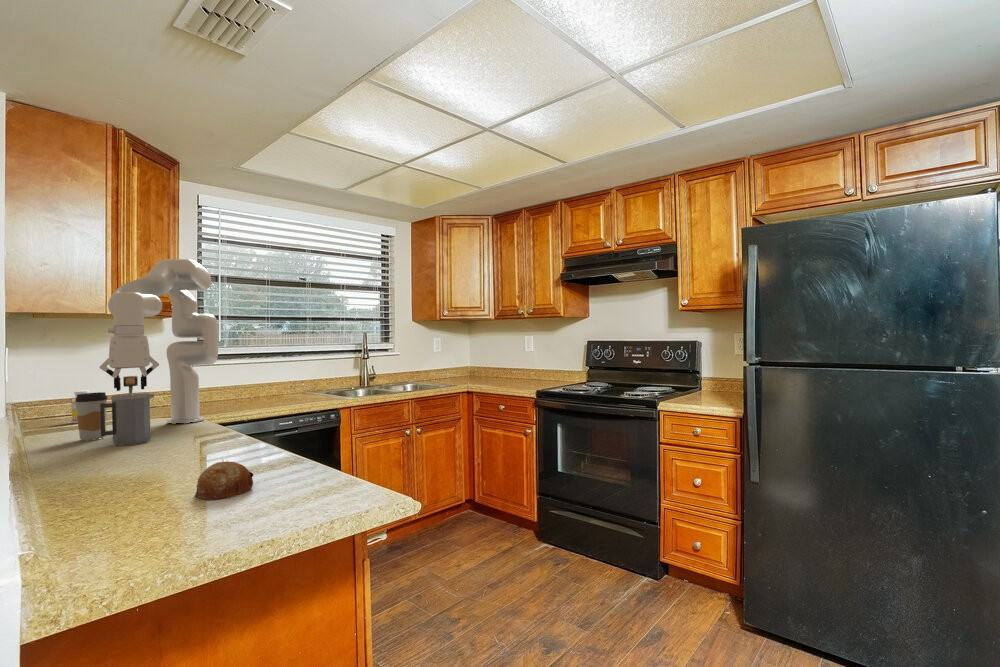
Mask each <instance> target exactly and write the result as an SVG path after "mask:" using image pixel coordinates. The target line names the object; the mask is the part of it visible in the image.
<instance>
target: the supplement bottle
mask: <svg viewBox="0 0 1000 667" xmlns="http://www.w3.org/2000/svg"><path fill="white" fill-rule="evenodd" d="M84 393H90V390H89V389H88V390H78V391H77V390H76V391H74V393H73V394H74V397H73V398H72V399H71V419H72V420H71V422H72V423H73V424H78V420H77V407H76V402H75V400H76V399H75V398H77V394H84Z"/></svg>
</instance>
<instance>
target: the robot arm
mask: <svg viewBox="0 0 1000 667" xmlns="http://www.w3.org/2000/svg"><path fill="white" fill-rule="evenodd" d="M211 285H212V276H211V274H210V272H209V271H208V270H207V268H205V267H204V266H203V265H202V264H200V263H198V262H197V261H196V260H193V259H190V258H185V259H182V258H178V259H177V258H166V259H165V258H164V259H161V260H159V261H157V262H156V263H155V264H154V265H153V267H151V269H150V270H149V271H148V273H147V274H146V275H144V276H142V277H139V278H137V279H134V280H131V281H128V282H126V283H124V284H121V286H119V287H118V288H116V290H115V291H114V292H113V293H112V294H111V296H110V297H109V299H108V303H107V308H108V311H109V313H110V314H111V315H112V316H113V323H114V324H113V325H114V326H113V327H109V328H108V329H107V332H108V333H112V334H113V335H114V336H111V337H110V339H109V340H110V341H109V350H108V358H107V359H106V360H105V361H104V362H102V363H101V365H100V366H99V369H100V370H102V371H103V372H105V373H106V374H108V375H109V376H111V377H112V379H113V389H116V392H119V391H121V388H122V387H121V385H122V384H121V377H120V373H121V370H122V369H135V368H136V369H137V368H139V370H140V372H141V376H140V389H141V390H144V389H145V387H148V386H147V385H148V382H147V381H148V378H147V376H148V375H150V374H151V373H152V372H153V371H154V370H155V369H156V368H158V367H159V366H160V363H159V362H158V361H156V360H155V359H154V358H153V357H152V356H151V355H150V354H151V353H150V346H149V340H148V335H145V319H144V318H145V317H146V318H149V317H151V318H152V317H155V316H157V315H159V314H160V313H161V312H162V310H163V302H162V301H161V300H162V299H160V297H162V296H165V295H168V296H169V298H170V300H171V331H172V335H173V336H174V337H175V338H176V337H177V338H180V339H181V338H182V339H191V338H192V339H197V338H200V339H201V338H202V339H203V340H184V341H183V340H181V341H175V342H172V343H169V345H168V346H167V348H166V351H165V352H166V359H167V362H168V368H169V378H170V379H169V381H170V384H169V386H170V387H169V388H170V415H171V416H170V417H171V418H169V419H167V420H166V424H167V423H172V424H171V425H177V424H176V423H184V424H191V423H190V422H193V423H198V422H202V421H204V420H205V417H204V416H202V415H201V413H200V412H201V410H200V384H199V383H200V382H199V380H200V378H199V374H198V373H197V371H196V370H195V369H194V368H193V366H201V365H202V366H206V365H213V364H215V363H216V362H217V361H218V358H219V324H218V320H217V317H216V316H215V315H213V314H210V313H198V301H197V299H196V298H195V297H194V296H193V295H192V293H190V291H206V290H207V289H209V288H210V287H211ZM150 364H152V365H151V366H150ZM108 366H109V367H108ZM148 366H150V367H148ZM146 367H148V368H147V369H146ZM110 368H111V369H110ZM112 369H114V370H112Z"/></svg>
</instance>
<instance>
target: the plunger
mask: <svg viewBox="0 0 1000 667" xmlns="http://www.w3.org/2000/svg"><path fill="white" fill-rule="evenodd" d="M122 378H123V387H125V388H126V387H127V388H128V393H129V394H133V393H134V389H133V388H134V387H138V385H139V384H138V382H139V381H138V378H139V376H138V375H129V376H126V375H125V376H123V377H122Z"/></svg>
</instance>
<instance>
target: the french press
mask: <svg viewBox="0 0 1000 667" xmlns="http://www.w3.org/2000/svg"><path fill="white" fill-rule="evenodd" d="M153 398H155V393H150V391H148V392H145V391H144V392H143V391H141V392H140V391H138V392H133V394H129V392H128V393H127V392H126V393H118V394H116V393H115V394H112V395H111V402H107V403H100V415H101V437H104V438H105V437H107V436H112V443H113V444H112V445H113V446H114V445H128V446H134V444H136V445H142V444H146V443H145V442H147V443H149V442H150V441H151V435H152V434H151V407H150V406H151V404H150V403H151V401H150V399H153ZM105 408H106V410H105ZM108 408H111V419H112V420H111V424H112V425H111V426H112V429H111V430H107V409H108ZM148 441H149V442H148ZM141 443H142V444H141Z"/></svg>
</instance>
